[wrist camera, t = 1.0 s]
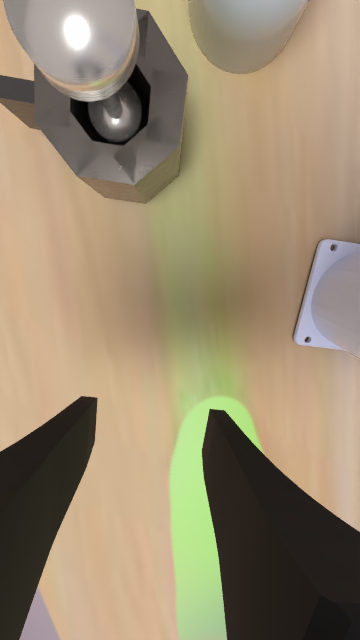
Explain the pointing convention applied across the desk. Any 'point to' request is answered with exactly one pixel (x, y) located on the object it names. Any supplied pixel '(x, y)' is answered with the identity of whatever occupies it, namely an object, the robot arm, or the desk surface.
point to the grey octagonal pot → (85, 142)
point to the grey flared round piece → (85, 56)
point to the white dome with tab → (243, 30)
